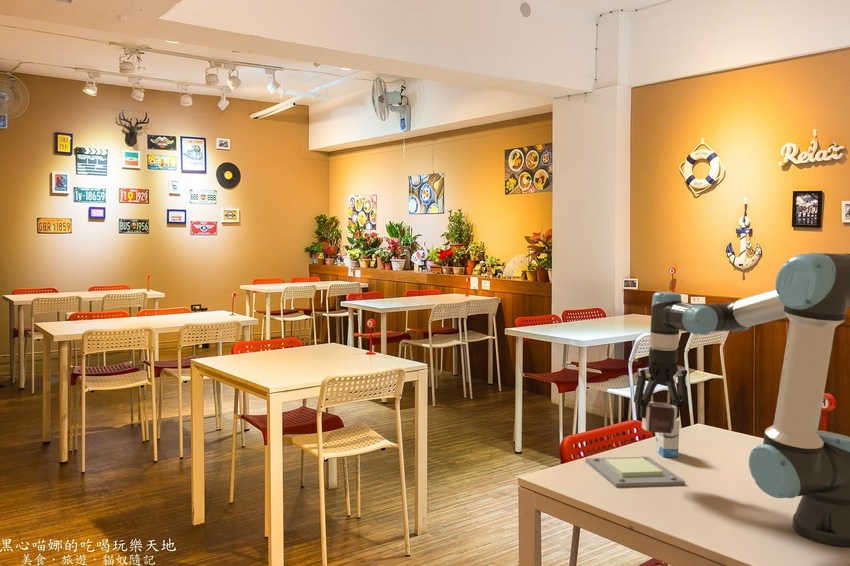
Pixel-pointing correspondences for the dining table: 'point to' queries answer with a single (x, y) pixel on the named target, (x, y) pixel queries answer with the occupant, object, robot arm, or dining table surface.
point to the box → (660, 417)
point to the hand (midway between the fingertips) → (658, 429)
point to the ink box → (668, 442)
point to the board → (634, 471)
